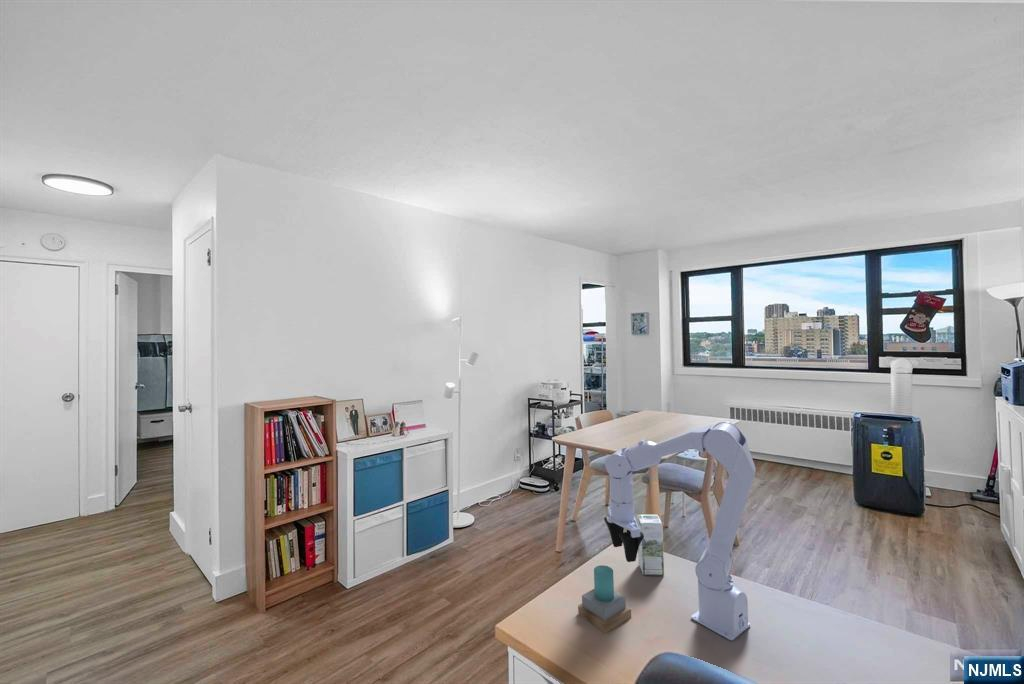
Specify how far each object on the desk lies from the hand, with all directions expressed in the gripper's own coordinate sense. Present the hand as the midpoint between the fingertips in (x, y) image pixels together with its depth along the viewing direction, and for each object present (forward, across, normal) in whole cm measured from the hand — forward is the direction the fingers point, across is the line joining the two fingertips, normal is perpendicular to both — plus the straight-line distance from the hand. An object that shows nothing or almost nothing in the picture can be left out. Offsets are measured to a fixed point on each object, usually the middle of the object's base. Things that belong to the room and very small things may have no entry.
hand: (624, 553), depth 108 cm
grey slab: (+8, +7, -9) cm, 14 cm away
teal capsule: (+6, +7, -8) cm, 12 cm away
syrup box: (+10, -8, +11) cm, 17 cm away
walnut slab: (+10, +7, -9) cm, 15 cm away
